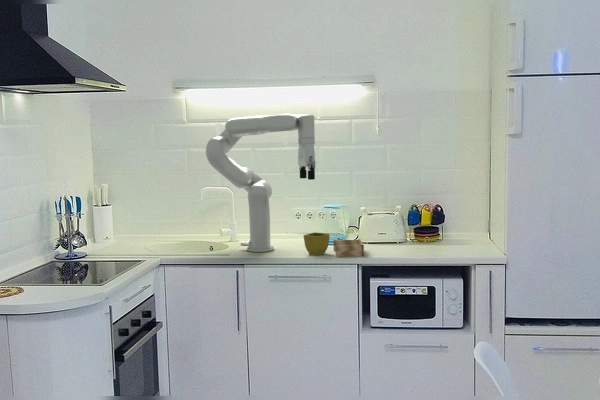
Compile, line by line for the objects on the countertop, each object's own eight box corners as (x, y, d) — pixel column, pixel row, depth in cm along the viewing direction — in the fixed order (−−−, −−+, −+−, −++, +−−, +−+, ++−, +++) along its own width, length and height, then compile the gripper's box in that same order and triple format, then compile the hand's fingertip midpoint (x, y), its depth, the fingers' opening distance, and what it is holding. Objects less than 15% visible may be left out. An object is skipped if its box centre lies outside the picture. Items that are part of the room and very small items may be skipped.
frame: (335, 256, 285) (335, 245, 285) (333, 250, 300) (333, 240, 299) (363, 256, 285) (363, 244, 285) (360, 250, 300) (360, 239, 299)
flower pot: (319, 256, 286) (318, 236, 285) (303, 254, 292) (302, 234, 291) (330, 253, 293) (330, 233, 292) (314, 251, 299) (314, 232, 298)
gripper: (292, 141, 304) (292, 178, 306) (306, 141, 288) (306, 180, 290) (306, 141, 307) (307, 177, 309) (321, 141, 291) (322, 179, 293)
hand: (307, 178), depth 299 cm, fingers open, 9 cm apart
